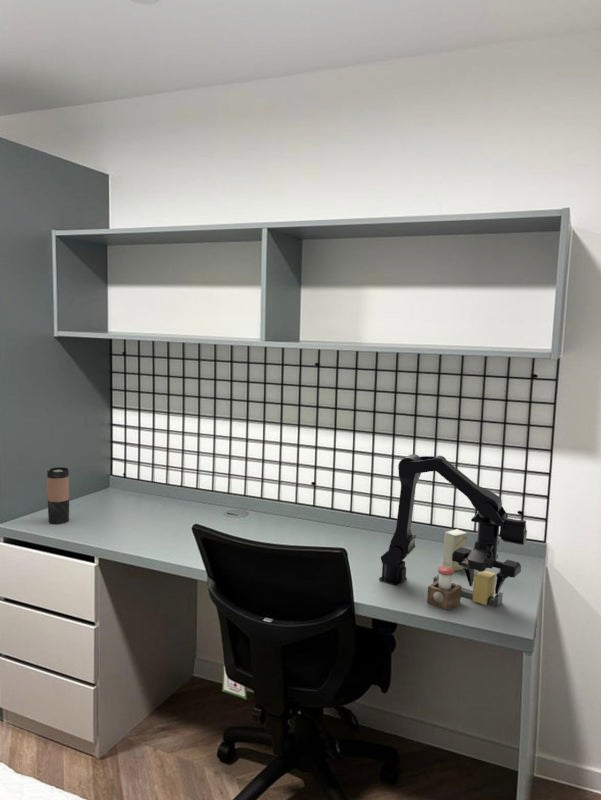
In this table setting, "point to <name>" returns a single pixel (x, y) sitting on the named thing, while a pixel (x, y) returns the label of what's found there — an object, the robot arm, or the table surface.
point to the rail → (468, 593)
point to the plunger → (445, 577)
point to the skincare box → (453, 547)
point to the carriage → (483, 586)
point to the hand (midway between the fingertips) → (483, 589)
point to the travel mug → (58, 495)
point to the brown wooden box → (444, 596)
